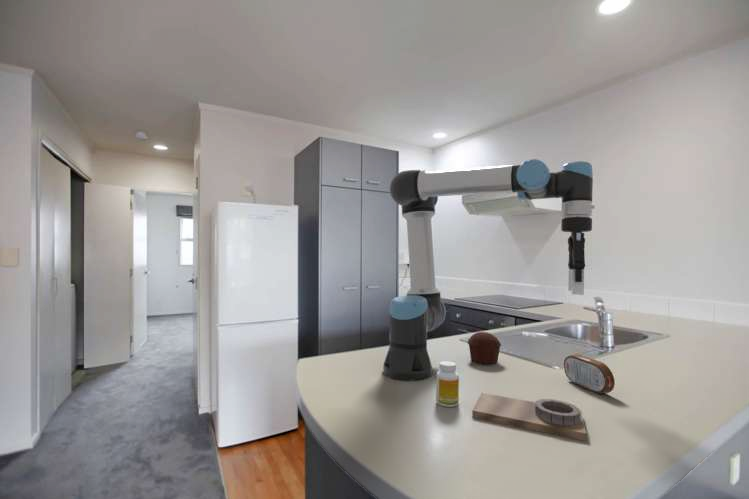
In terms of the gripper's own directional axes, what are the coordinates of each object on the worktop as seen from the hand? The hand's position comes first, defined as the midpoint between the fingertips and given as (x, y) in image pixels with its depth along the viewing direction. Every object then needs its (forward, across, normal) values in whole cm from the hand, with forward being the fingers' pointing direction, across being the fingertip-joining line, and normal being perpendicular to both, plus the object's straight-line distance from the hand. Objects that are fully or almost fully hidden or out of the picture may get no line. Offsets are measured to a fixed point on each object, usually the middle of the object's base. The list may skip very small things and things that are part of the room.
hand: (575, 292), depth 99 cm
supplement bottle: (+27, -27, +29) cm, 48 cm away
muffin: (+27, +15, +26) cm, 41 cm away
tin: (+27, +2, -3) cm, 27 cm away
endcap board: (+27, -26, +11) cm, 39 cm away
